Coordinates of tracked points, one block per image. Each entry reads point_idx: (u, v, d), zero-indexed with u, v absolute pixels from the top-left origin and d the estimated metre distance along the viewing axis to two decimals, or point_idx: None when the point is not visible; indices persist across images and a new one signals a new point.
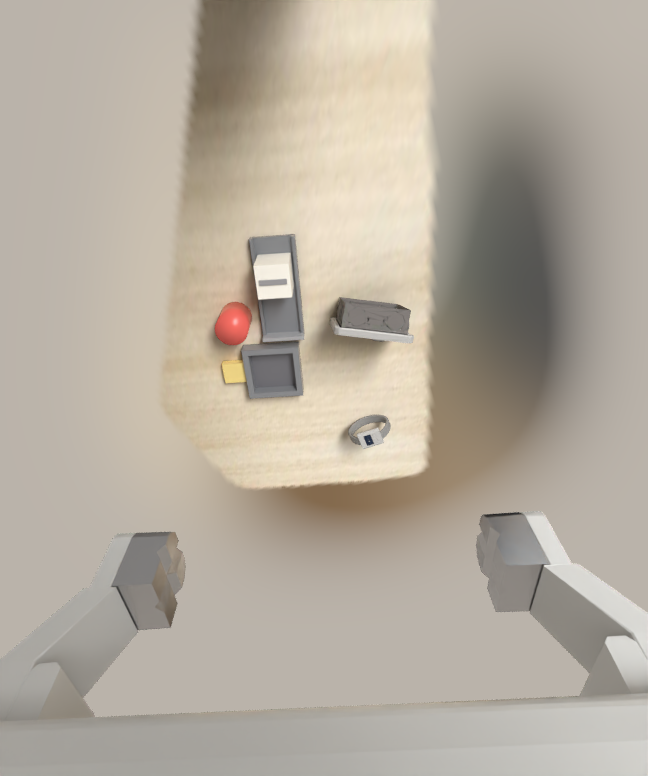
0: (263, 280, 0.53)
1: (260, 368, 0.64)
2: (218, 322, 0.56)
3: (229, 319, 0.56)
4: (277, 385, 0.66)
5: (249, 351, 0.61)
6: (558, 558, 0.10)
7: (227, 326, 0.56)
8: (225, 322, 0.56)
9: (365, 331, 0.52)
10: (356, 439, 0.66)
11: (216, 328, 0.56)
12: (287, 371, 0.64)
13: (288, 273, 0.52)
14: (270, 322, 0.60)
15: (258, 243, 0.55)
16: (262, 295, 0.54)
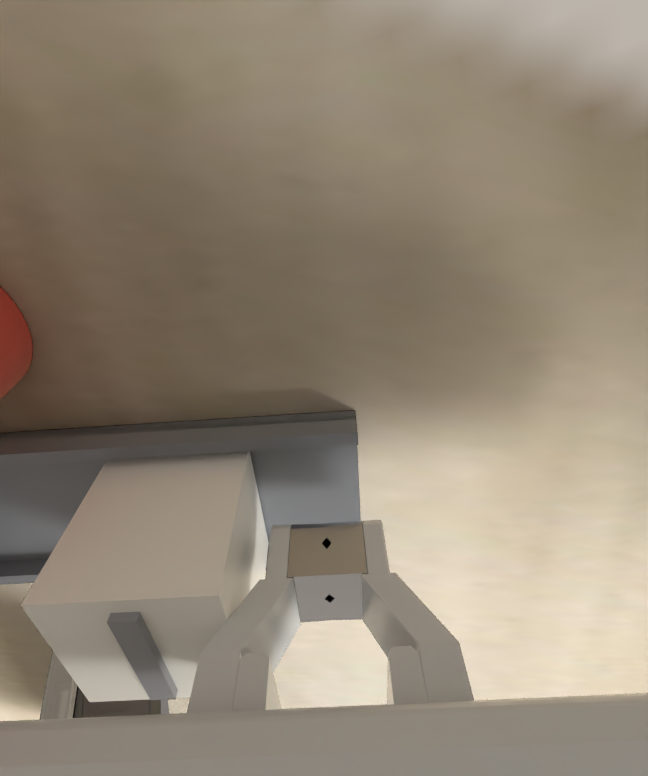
0: (144, 624, 0.10)
1: None
2: None
3: None
4: None
5: None
6: (378, 567, 0.10)
7: None
8: None
9: None
10: None
11: None
12: None
13: None
14: None
15: (332, 448, 0.13)
16: (54, 620, 0.09)
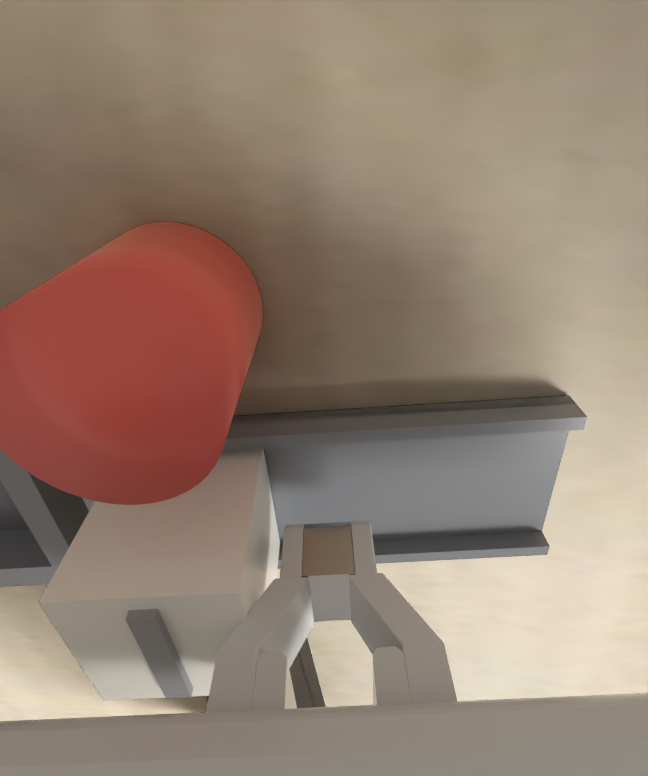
0: (162, 621, 0.09)
1: None
2: (161, 340, 0.07)
3: (197, 423, 0.07)
4: None
5: None
6: (365, 568, 0.10)
7: (132, 397, 0.07)
8: (166, 390, 0.07)
9: None
10: None
11: (101, 313, 0.06)
12: None
13: None
14: None
15: (543, 434, 0.13)
16: (71, 617, 0.09)
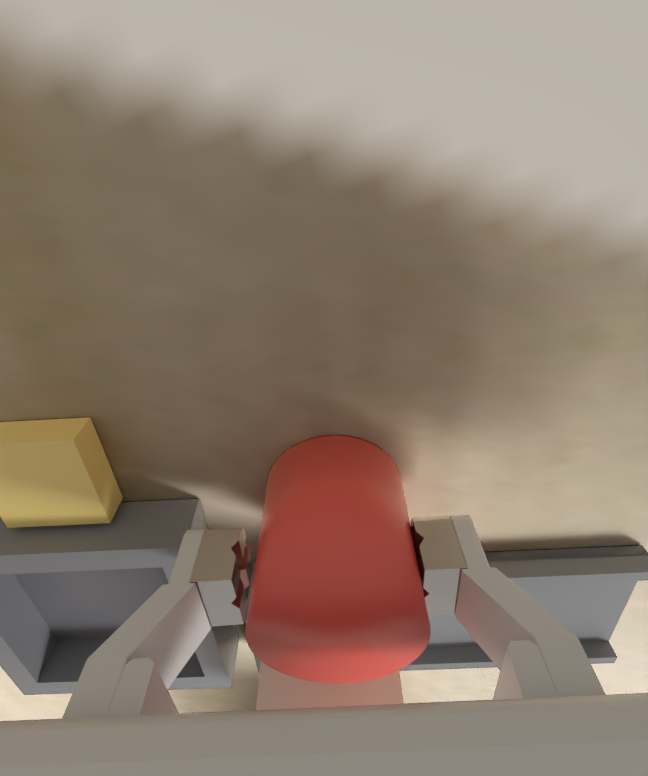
0: None
1: None
2: (409, 607, 0.09)
3: (404, 648, 0.10)
4: (32, 594, 0.16)
5: None
6: (477, 562, 0.10)
7: (368, 631, 0.10)
8: (395, 630, 0.10)
9: None
10: None
11: (378, 592, 0.09)
12: (109, 620, 0.17)
13: None
14: None
15: None
16: None
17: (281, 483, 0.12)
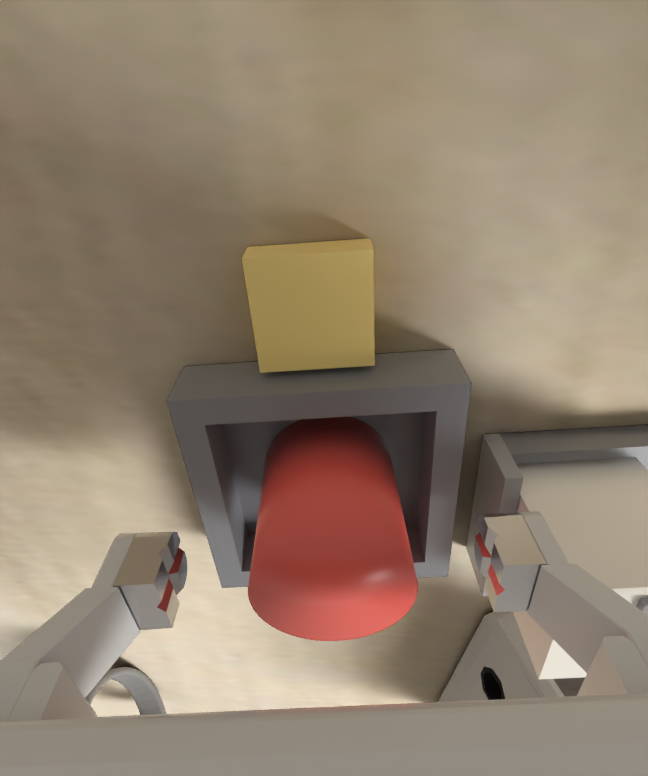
0: None
1: None
2: (398, 563, 0.10)
3: (394, 603, 0.11)
4: (239, 474, 0.15)
5: (458, 415, 0.12)
6: (556, 558, 0.10)
7: (361, 587, 0.11)
8: (385, 586, 0.11)
9: None
10: None
11: (370, 548, 0.10)
12: None
13: None
14: None
15: None
16: None
17: (279, 457, 0.13)
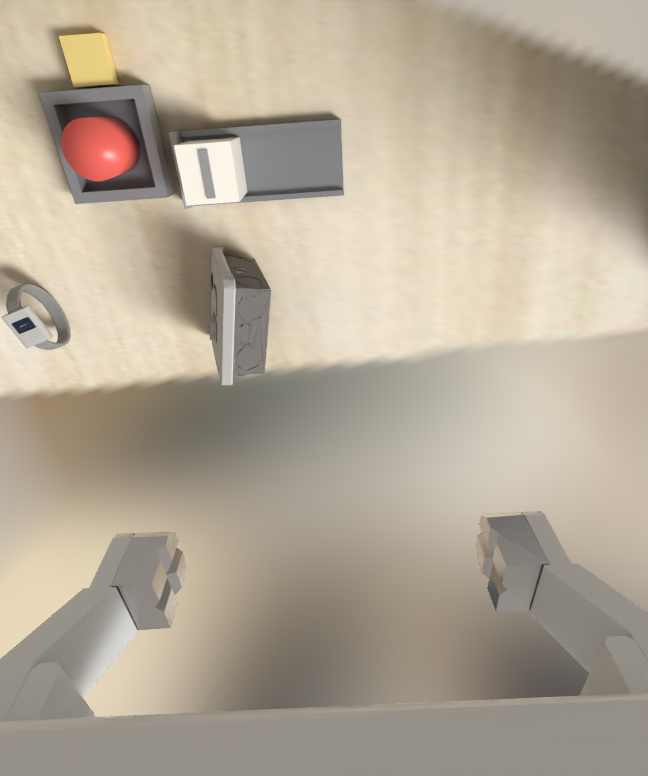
0: (208, 156, 0.33)
1: None
2: (107, 133, 0.32)
3: (113, 157, 0.33)
4: None
5: (143, 102, 0.34)
6: (558, 558, 0.10)
7: (99, 147, 0.32)
8: (107, 146, 0.32)
9: (233, 325, 0.35)
10: (15, 304, 0.39)
11: (96, 124, 0.32)
12: None
13: (224, 201, 0.34)
14: None
15: (332, 134, 0.36)
16: (182, 153, 0.32)
17: None
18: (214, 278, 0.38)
